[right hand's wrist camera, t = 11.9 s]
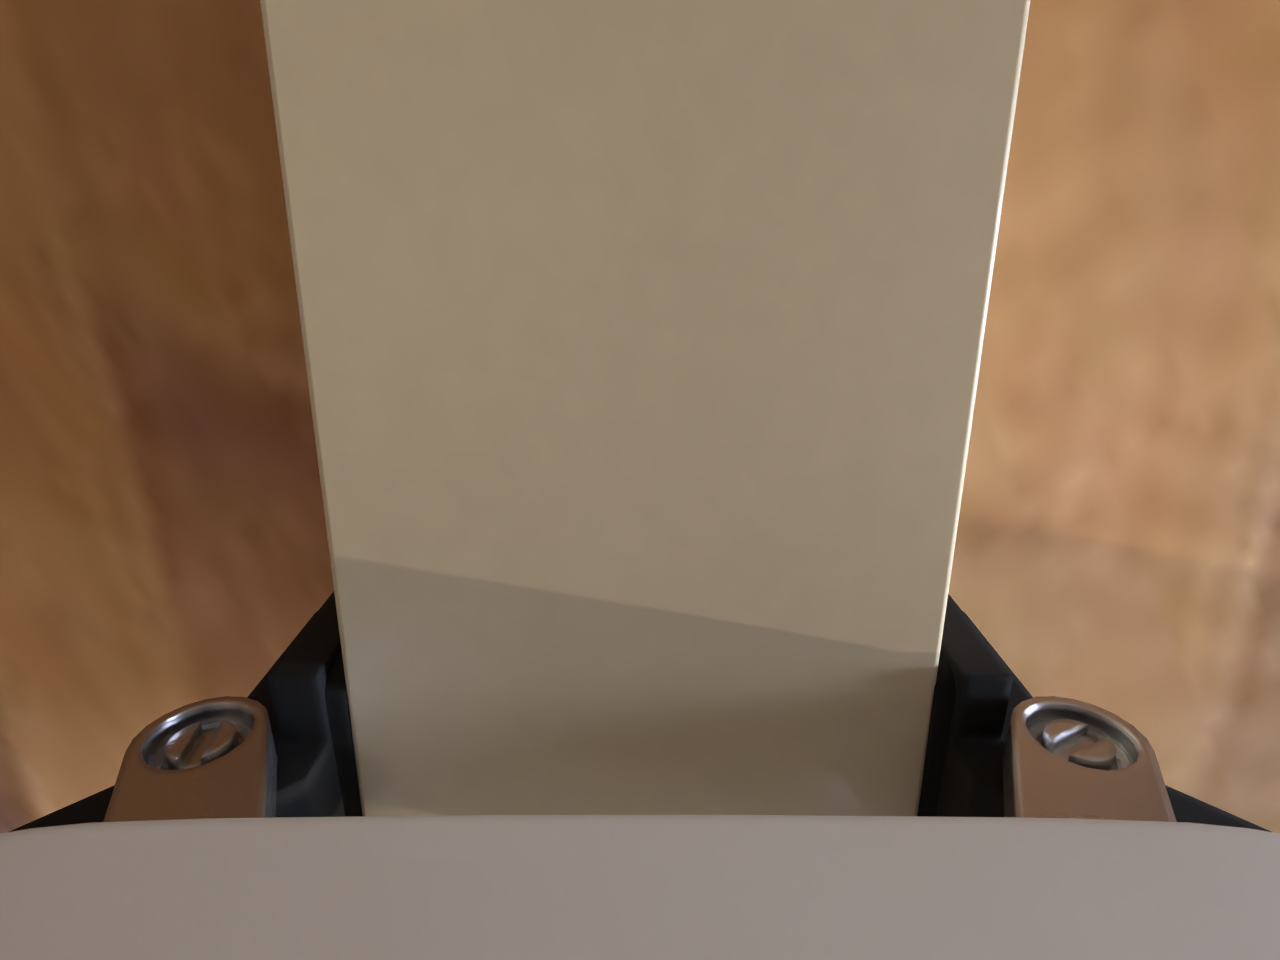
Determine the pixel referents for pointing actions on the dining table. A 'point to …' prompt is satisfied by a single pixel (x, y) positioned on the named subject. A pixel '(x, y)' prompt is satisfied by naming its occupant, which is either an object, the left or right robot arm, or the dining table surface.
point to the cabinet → (642, 385)
